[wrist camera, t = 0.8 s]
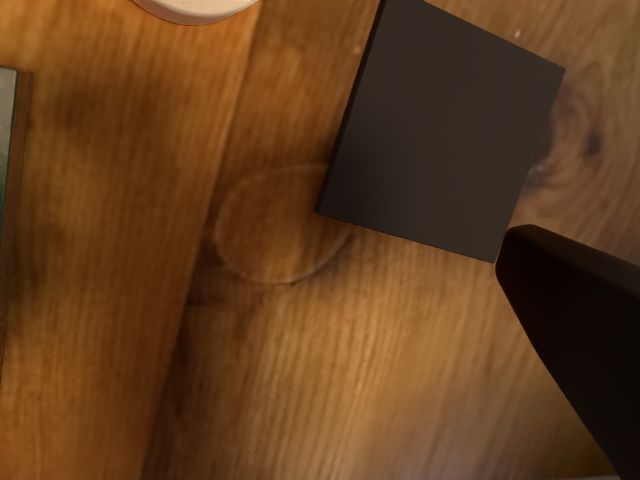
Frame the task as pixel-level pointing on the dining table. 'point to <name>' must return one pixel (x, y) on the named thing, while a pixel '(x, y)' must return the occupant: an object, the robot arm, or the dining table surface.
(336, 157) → the felt mat
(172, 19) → the knuckle duster
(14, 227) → the pen box
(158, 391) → the dining table surface
